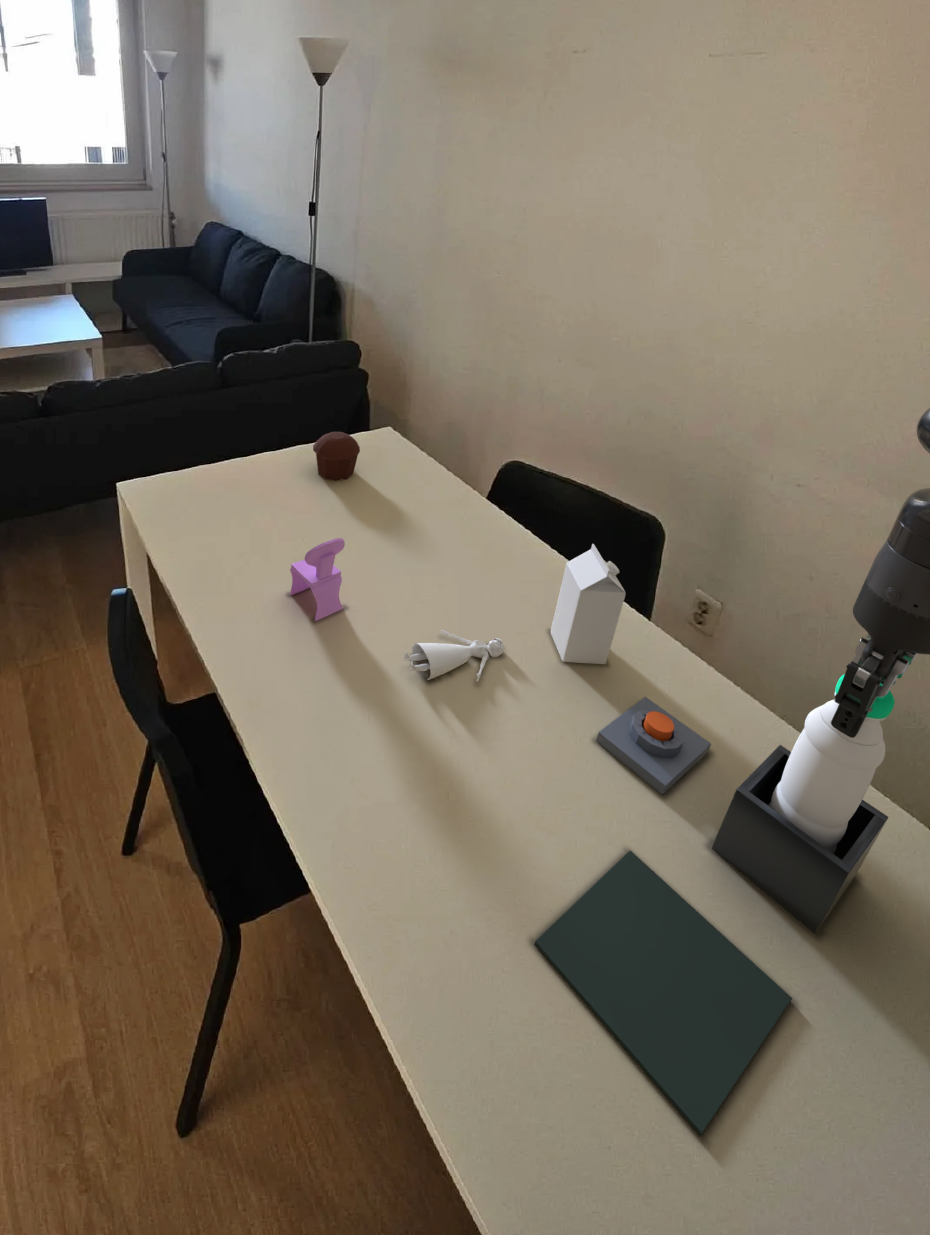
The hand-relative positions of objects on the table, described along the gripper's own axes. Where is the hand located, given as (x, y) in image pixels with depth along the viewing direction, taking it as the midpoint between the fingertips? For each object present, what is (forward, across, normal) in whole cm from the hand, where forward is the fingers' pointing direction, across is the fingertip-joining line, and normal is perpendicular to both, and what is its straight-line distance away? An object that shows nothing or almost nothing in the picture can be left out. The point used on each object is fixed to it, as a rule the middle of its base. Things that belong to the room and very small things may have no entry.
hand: (853, 718), depth 73 cm
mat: (+24, -24, +2) cm, 34 cm away
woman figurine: (+24, -10, +45) cm, 52 cm away
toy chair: (+24, -21, +69) cm, 76 cm away
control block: (+24, +2, +18) cm, 30 cm away
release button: (+21, +2, +18) cm, 28 cm away
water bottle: (+21, 0, 0) cm, 21 cm away
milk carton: (+24, +10, +36) cm, 45 cm away
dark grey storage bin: (+24, 0, 0) cm, 24 cm away
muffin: (+24, +11, +106) cm, 109 cm away
